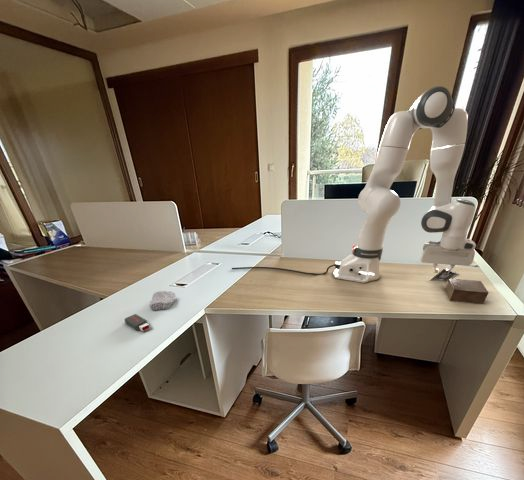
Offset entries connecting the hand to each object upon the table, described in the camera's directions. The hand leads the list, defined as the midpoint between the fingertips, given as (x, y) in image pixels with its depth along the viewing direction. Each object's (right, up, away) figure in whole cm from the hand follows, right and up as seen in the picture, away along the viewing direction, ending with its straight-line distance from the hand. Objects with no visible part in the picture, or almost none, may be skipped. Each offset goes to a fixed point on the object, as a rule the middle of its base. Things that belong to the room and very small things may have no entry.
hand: (440, 273), depth 130 cm
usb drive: (-132, -26, -17) cm, 135 cm away
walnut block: (+4, -12, -9) cm, 16 cm away
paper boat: (+4, -4, 0) cm, 5 cm away
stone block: (-126, -15, -3) cm, 127 cm away
